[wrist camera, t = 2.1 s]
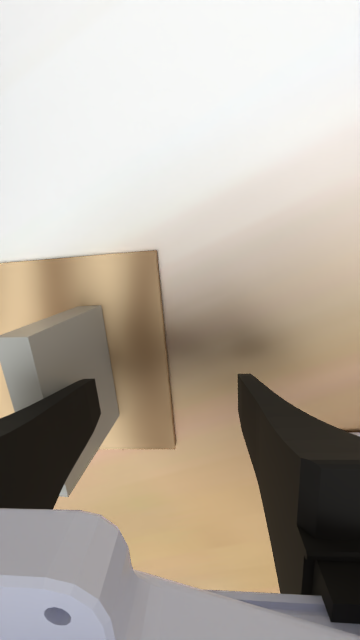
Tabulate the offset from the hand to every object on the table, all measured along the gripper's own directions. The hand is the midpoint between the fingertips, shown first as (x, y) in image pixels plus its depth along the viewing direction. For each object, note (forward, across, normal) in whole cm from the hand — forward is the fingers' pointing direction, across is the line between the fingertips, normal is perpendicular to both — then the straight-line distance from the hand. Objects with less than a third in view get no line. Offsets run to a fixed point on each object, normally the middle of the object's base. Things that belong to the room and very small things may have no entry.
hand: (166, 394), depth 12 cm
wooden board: (+5, +8, 0) cm, 9 cm away
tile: (+4, +5, 0) cm, 6 cm away
